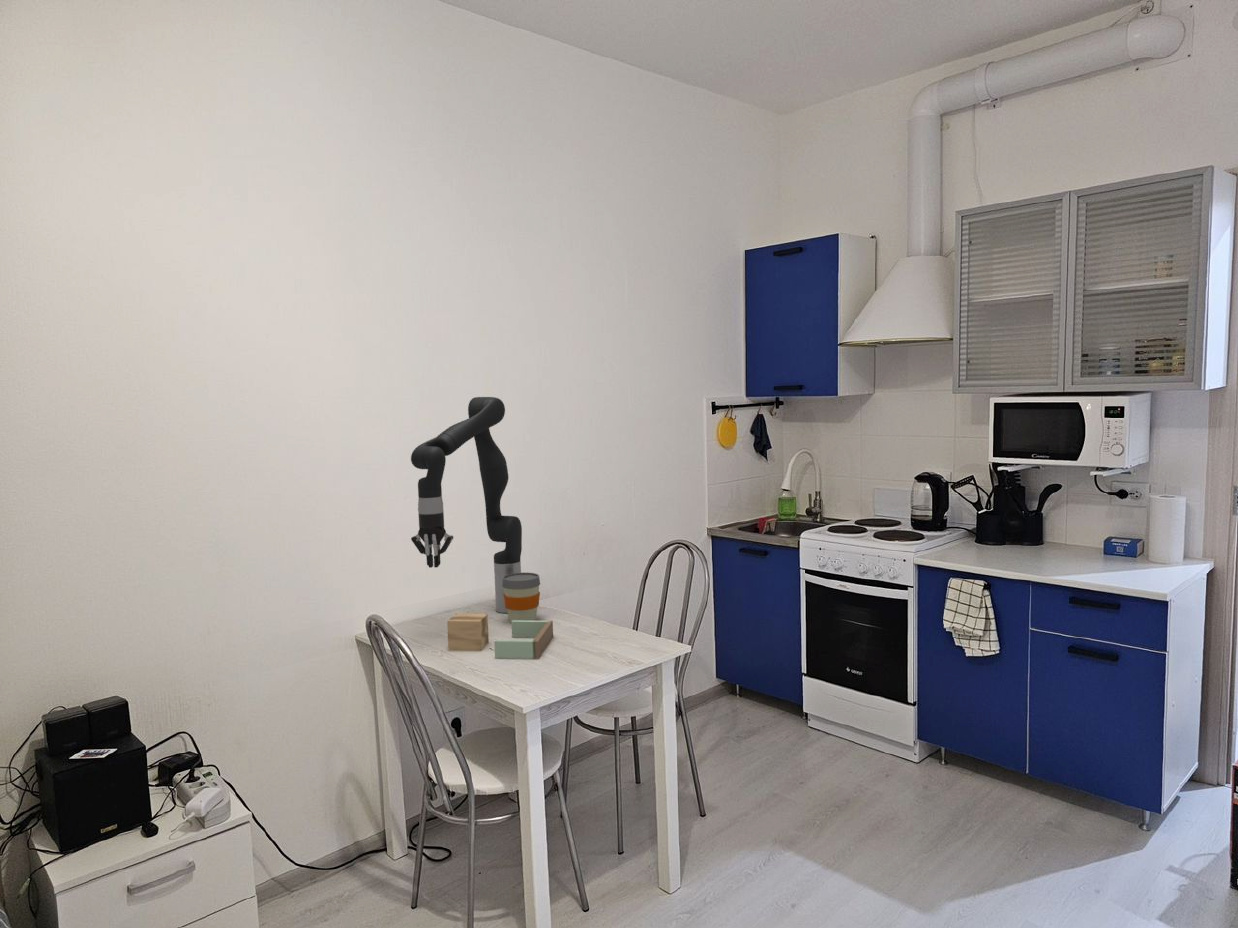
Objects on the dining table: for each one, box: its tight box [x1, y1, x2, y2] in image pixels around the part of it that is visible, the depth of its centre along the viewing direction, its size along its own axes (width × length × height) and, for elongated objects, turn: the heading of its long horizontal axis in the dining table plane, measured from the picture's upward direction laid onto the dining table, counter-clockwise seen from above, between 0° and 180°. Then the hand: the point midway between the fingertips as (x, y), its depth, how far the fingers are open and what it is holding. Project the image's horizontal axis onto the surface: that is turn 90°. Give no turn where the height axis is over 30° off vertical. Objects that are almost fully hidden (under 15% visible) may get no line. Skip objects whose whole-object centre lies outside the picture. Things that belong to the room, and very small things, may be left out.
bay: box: [493, 620, 554, 660], centre depth 244 cm, size 21×13×5 cm, turn 173°
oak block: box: [446, 613, 490, 652], centre depth 246 cm, size 8×10×9 cm
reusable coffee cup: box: [502, 572, 541, 624], centre depth 271 cm, size 13×13×15 cm
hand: (433, 566), depth 251 cm, fingers closed
